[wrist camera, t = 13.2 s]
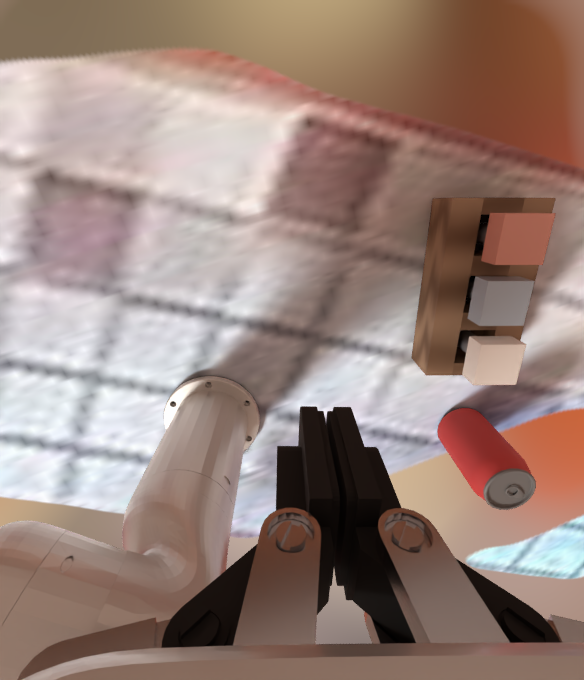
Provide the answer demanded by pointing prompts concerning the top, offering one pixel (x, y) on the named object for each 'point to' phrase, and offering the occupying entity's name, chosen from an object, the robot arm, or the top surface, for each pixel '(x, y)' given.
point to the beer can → (486, 459)
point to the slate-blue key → (499, 300)
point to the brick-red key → (515, 238)
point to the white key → (491, 358)
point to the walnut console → (460, 278)
